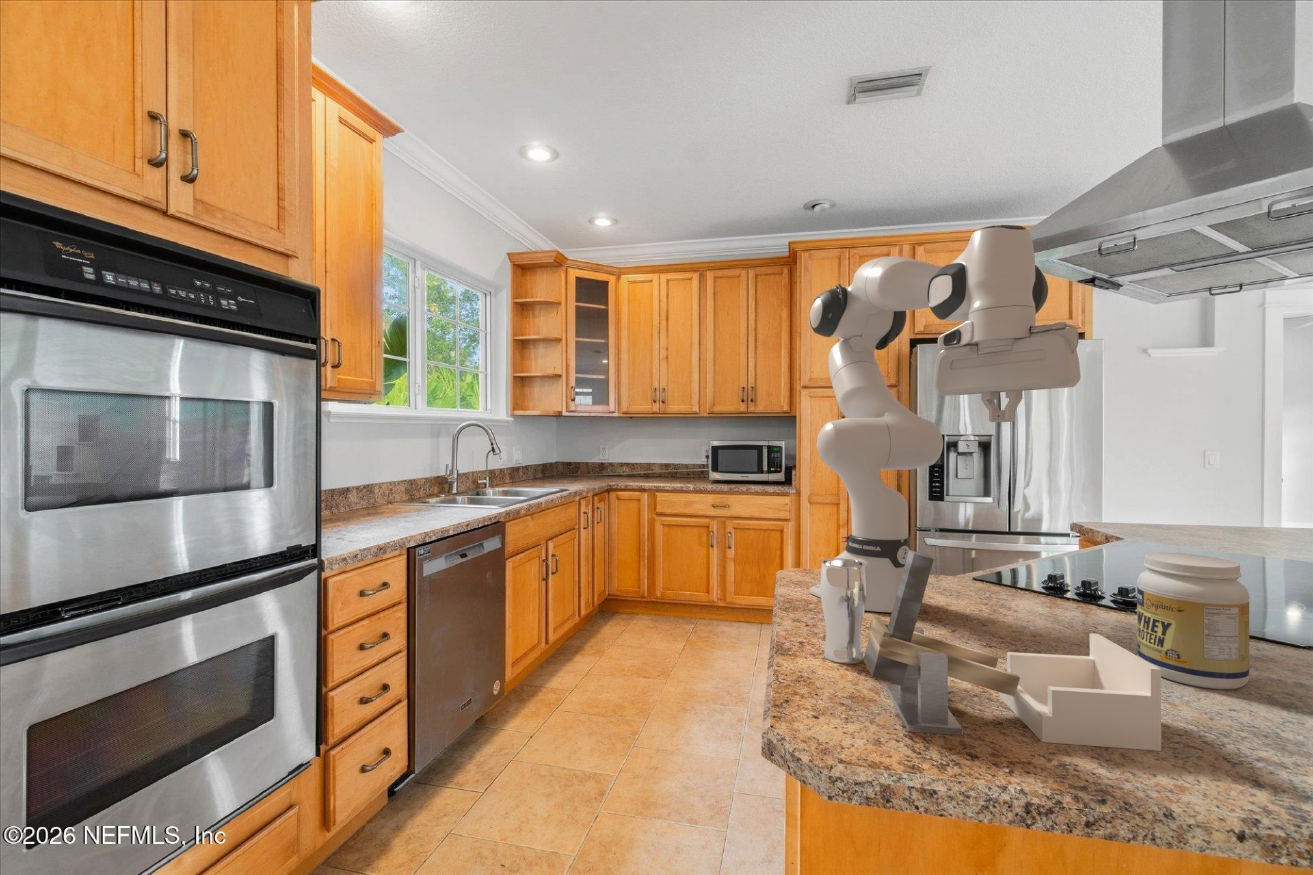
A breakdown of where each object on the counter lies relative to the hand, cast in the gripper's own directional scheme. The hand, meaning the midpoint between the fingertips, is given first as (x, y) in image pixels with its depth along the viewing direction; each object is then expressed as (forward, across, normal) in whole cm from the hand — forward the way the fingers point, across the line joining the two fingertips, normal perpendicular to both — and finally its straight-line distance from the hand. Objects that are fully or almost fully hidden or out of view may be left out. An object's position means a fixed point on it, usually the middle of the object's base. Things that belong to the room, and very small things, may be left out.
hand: (1001, 422), depth 90 cm
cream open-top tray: (+37, -14, +11) cm, 41 cm away
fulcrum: (+37, -3, +24) cm, 44 cm away
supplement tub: (+37, -16, -20) cm, 45 cm away
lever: (+34, -4, +23) cm, 41 cm away
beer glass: (+37, +15, +18) cm, 44 cm away
